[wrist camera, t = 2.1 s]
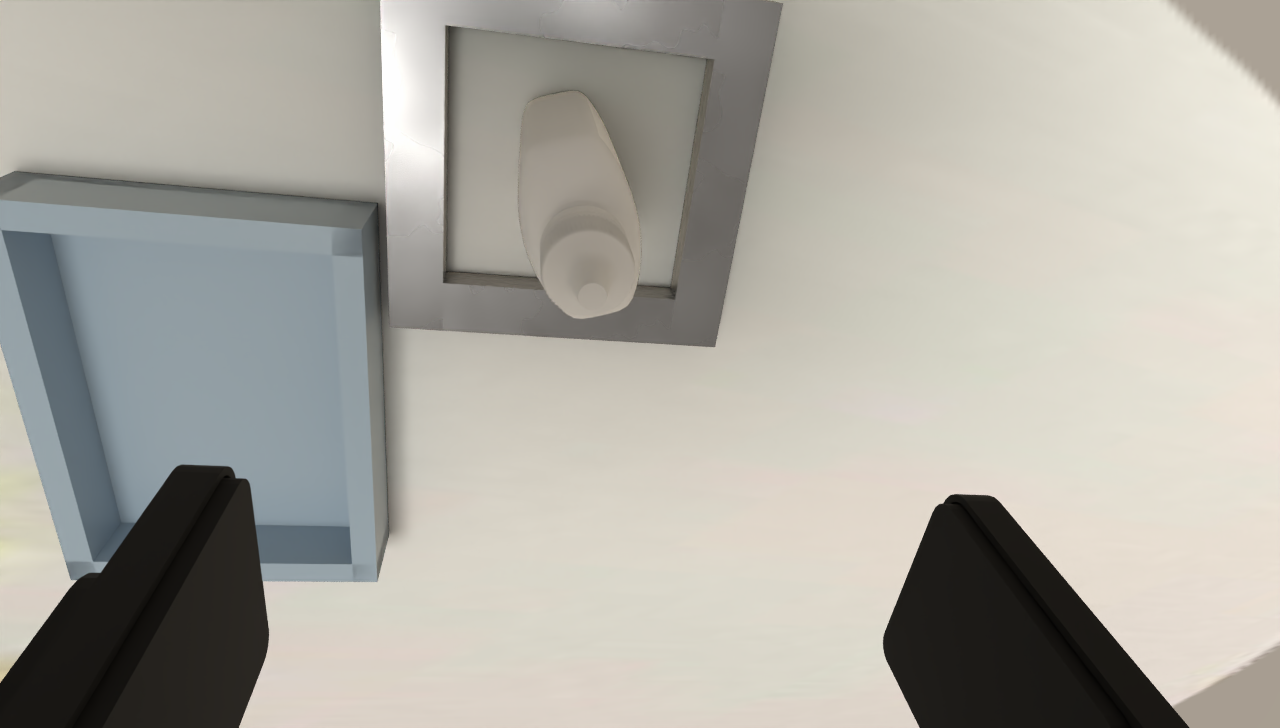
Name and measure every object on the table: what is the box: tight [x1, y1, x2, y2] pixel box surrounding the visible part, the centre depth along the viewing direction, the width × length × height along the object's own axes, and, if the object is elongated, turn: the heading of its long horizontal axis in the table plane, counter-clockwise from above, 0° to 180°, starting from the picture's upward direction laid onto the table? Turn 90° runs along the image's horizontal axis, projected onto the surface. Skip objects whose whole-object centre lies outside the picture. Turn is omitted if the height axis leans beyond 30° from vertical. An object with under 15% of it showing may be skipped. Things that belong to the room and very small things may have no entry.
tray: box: [0, 171, 389, 582], centre depth 29 cm, size 16×12×3 cm
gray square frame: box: [380, 0, 783, 347], centre depth 28 cm, size 13×13×1 cm
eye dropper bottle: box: [518, 90, 642, 319], centre depth 23 cm, size 4×6×12 cm
